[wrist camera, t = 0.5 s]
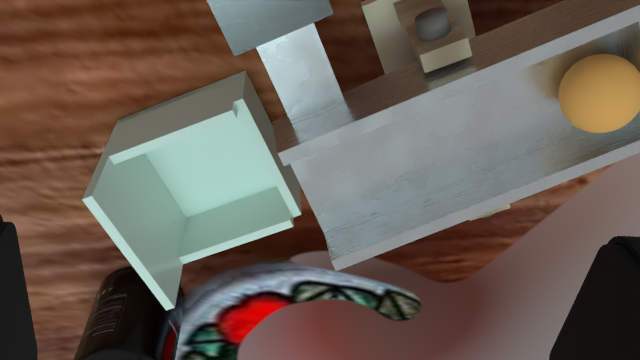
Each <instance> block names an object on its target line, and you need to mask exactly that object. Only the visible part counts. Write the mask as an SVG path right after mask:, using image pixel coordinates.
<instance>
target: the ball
mask: <svg viewBox="0 0 640 360" xmlns="http://www.w3.org/2000/svg"><path fill="white" fill-rule="evenodd" d="M558 98H559V105H560V108H561V110H562V112H563V114H564V116H565V117H566V118H567V119H568V121H569V122H570V123H572V124H573V125H574V126H576V127H577V128H579V129H582V130H584V131H588V132H592V133H606V132H611V131H614V130H617V129H619V128H621V127H623V126H625V125H626V124H628V123H629V122H630V121H631V120H632V119H633V118H634V117H635V116H636V115H637V113H638V112H639V110H640V73H639V71H638V70H637V69H636V67H635V66H634V65H633V64H632V63H630V62H629V61H627V60H626V59H624V58H622V57H619V56H616V55H611V54H597V55H592V56H589V57H586V58H584V59H582V60H580V61H578V62H577V63H575V64H574V65H573V66H572V67H571V68H570V69H569V70H568V71H567V72H566V74H565V75H564V77H563V79H562V81H561V84H560V87H559V92H558Z"/></svg>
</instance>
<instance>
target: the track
mask: <svg viewBox="0 0 640 360" xmlns="http://www.w3.org/2000/svg"><path fill="white" fill-rule="evenodd" d="M207 2H208V4H209V6H210V8H211V10H212V12H213V14H214V16H215V18H216V20H217V22H218V24H219V26H220V28H221V30H222V32H223V34H224V36H225V38H226V40H227V42H228V44H229V46H230V48H231V51H232V53H233V55H234V57H235V56H237V55H239V54H242V53H244V52H246V51H249V50H251V49H253V48H257V50H258V53H259V55H260V57H261V59H262V61H263V63H264V65H265V68H266V70H267V72H268V74H269V76H270V78H271V80H272V83H273V85H274V87H275V89H276V91H277V93H278V95H279V98H280V100H281V102H282V104H283V106H284V108H285V110H286V113H287V116H284V117H282V118H279V119H277V120H275V121H272V124H273V130H274V135H275V141H276V147H277V153H278V155H279V157H280V159H281V161H282V163H283V165H284V166H286V165H288V164H290V165H291V167H292V169H293V171H294V173H295V175H296V177H297V179H298V181H299V183H300V185H301V187H302V189H303V191H304V193H305V195H306V197H307V199H308V201H309V203H310V205H311V208H312V210H313V212H314V214H315V216H316V218H317V220H318V222H319V224H320V226H321V228H322V230H323V232H324V234H325V238H326V242H327V246H328V250H329V254H330V258H331V261H332V264H333V266H334V268H335V270H336V271H338V270H340V269H343V268H346V267H348V266H351V265H353V264H356V263H358V262H361V261H363V260H366V259H369V258H371V257H374V256H376V255H379V254H381V253H384V252H386V251H389V250H392V249H394V248H397V247H399V246H402V245H404V244H407V243H410V242H412V241H415V240H417V239H420V238H422V237H425V236H427V235H430V234H433V233H435V232H438V231H440V230H443V229H445V228H448V227H450V226H453V225H456V224H458V223H461V222H463V221H466V220H468V219H471V218H473V217H476V216H479V215H481V214H484V213H486V212H489V211H491V210H494V209H496V208H499V207H502V206H504V205H507V204H509V203H512V202H514V201H517V200H520V199H522V198H525V197H527V196H530V195H532V194H535V193H537V192H540V191H543V190H545V189H548V188H550V187H553V186H555V185H558V184H560V183H563V182H566V181H568V180H571V179H573V178H576V177H578V176H581V175H583V174H586V173H589V172H591V171H594V170H596V169H599V168H601V167H604V166H606V165H609V164H612V163H614V162H617V161H619V160H622V159H624V158H627V157H629V156H632V155H635V154H637V153H640V110H639V112H638V113H637V115H636V116H635V117H634V118H633V119H632V120H631V121H630V122H629V123H628V124H626V125H625V126H623V127H621V128H619V129H617V130H614V131H611V132H606V133H592V132H588V131H584V130H582V129H579V128H577V127H576V126H574V125H573V124H572V123H570V122H569V121H568V119H567V118H566V117H565V116H564V114H563V112H562V110H561V108H560V105H559V98H558V92H559V87H560V84H561V81H562V79H563V77H564V75H565V74H566V72H567V71H568V70H569V69H570V68H571V67H572V66H573V65H574V64H575V63H577V62H578V61H580V60H582V59H584V58H586V57H589V56H592V55H597V54H611V55H616V56H619V57H622V58H624V59H626V60H627V61H629V62H630V63H632V64H633V65H634V66H635V67H636V69H637V70H638V71H639V73H640V0H564V1H561V2H559V3H556V4H554V5H551V6H549V7H547V8H544V9H542V10H539V11H537V12H535V13H532V14H530V15H527V16H525V17H523V18H520V19H518V20H515V21H513V22H511V23H508V24H506V25H503V26H501V27H499V28H496V29H494V30H491V31H489V32H486V33H484V34H482V35H479V36H477V37H474V38H472V39H470V40H469V44H470V48H471V52H472V56H471V57H468V58H465V59H462V60H460V61H457V62H454V63H452V64H449V65H446V66H443V67H441V68H438V69H435V70H433V71H430V72H427V73H425V72H424V70H423V68H422V66H421V64H420V62H419V61H417V62H414V63H412V64H409V65H407V66H405V67H402V68H400V69H397V70H395V71H393V72H390V73H388V74H385V75H383V76H381V77H378V78H376V79H373V80H371V81H368V82H366V83H364V84H361V85H359V86H356V87H354V88H352V89H349V90H347V91H344V92H342V93H341V90H340V88H339V85H338V83H337V80H336V78H335V75H334V73H333V70H332V68H331V65H330V63H329V60H328V58H327V55H326V53H325V50H324V47H323V45H322V42H321V40H320V37H319V35H318V32H317V30H316V27H315V25H314V22H317V21H319V20H321V19H324V18H326V17H328V16H331V15H333V14H334V13H333V10H332V8H331V5H330V2H329V0H207Z"/></svg>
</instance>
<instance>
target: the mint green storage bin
mask: <svg viewBox="0 0 640 360" xmlns="http://www.w3.org/2000/svg"><path fill="white" fill-rule="evenodd" d="M82 200H83V202H84V203H85V204H86V206H87V207H88V208H89V210H90V211H91V212H92V214H93V215H94V216H95V217H96V219H97V220H98V221H99V223H100V224H101V225H102V227H103V228H104V229H105V231H106V232H107V233H108V235H109V236H110V237H111V239H112V240H113V241H114V243H115V244H116V245H117V246H118V248H119V249H120V250H121V252H122V253H123V254H124V256H125V257H126V258H127V260H128V261H129V262H130V264H131V265H132V266H133V268H134V269H135V270H136V272H137V273H138V274H139V275H140V277H141V278H142V279H143V281H144V282H145V283H146V285H147V286H148V287H149V289H150V290H151V291H152V293H153V294H154V295H155V297H156V298H157V299H158V301H159V302H160V303H161V305H162V306H163V307H164V308H165V310H169V309H173V308H175V304H176V299H177V293H178V288H179V283H180V277H181V272H182V267H183V264H185V263H188V262H191V261H194V260H197V259H200V258H203V257H205V256H208V255H211V254H214V253H217V252H220V251H223V250H226V249H229V248H232V247H235V246H238V245H241V244H244V243H247V242H250V241H253V240H256V239H258V238H261V237H264V236H267V235H270V234H273V233H276V232H279V231H282V230H285V229H288V228H291V227H293V217H295V216H298V215H301V199H300V183H299V181H298V179H297V177H296V175H295V173H294V171H293V169H292V167H291V165H290V164H288V165H286V166H284V165H283V163H282V161H281V159H280V157H279V155H278V153H277V147H276V141H275V135H274V130H273V126H272V124H271V122H270V119H269V117H268V115H267V113H266V111H265V109H264V107H263V105H262V103H261V101H260V99H259V97H258V95H257V93H256V91H255V89H254V87H253V85H252V83H251V81H250V79H249V76H248V74H247V72H246V70H245V71H243V72H240V73H238V74H235V75H232V76H230V77H227V78H225V79H222V80H220V81H217V82H214V83H212V84H209V85H207V86H204V87H201V88H199V89H196V90H194V91H191V92H188V93H186V94H183V95H181V96H178V97H176V98H173V99H170V100H168V101H165V102H163V103H160V104H157V105H155V106H152V107H150V108H147V109H144V110H142V111H139V112H137V113H134V114H132V115H129V116H126V117H124V118H121V119H119V120H118V121H117V123H116V125H115V127H114V129H113V132H112V134H111V136H110V138H109V141H108V143H107V145H106V147H105V149H104V152H103V154H102V156H101V158H100V160H99V163H98V165H97V167H96V169H95V172H94V174H93V176H92V178H91V180H90V183H89V185H88V187H87V189H86V192H85V194H84V196H83V198H82Z"/></svg>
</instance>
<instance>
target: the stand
mask: <svg viewBox="0 0 640 360" xmlns="http://www.w3.org/2000/svg"><path fill="white" fill-rule="evenodd" d="M360 4H361V6H362V9H363V12H364V15H365V18H366V21H367V24H368V27H369V30H370V32H371V35H372V38H373V41H374V44H375V47H376V50H377V53H378V56H379V59H380V61H381V64H382V67H383V70H384V73H385V74H388V73H390V72H393V71H395V70H397V69H400V68H402V67H405V66H407V65H409V64H412V63H414V62H417V61H419V62H420V64H421V66H422V68H423V70H424V72H425V73H427V72H430V71H433V70H435V69H438V68H441V67H443V66H446V65H449V64H452V63H454V62H457V61H460V60H462V59H465V58H468V57H471V56H472V52H471V48H470V44H469V40H470V39H472V38H474V37H476V34H475V30H474V26H473V21H472V17H471V13H470V9H469V5H468V1H467V0H365V1H362V2H360ZM508 208H510V204H507V205H504V206H502V207H499V208H496V209H494V210H491V211H489V212H486V213H484V214H481V215H479V216H476V217H473V218H471V219H469V220H470V221H471V220H474V219H477V218H480V217H481V218H484V217H489V216H491V215H493V214H494V213H496V212H499V211H502V210H505V209H508Z"/></svg>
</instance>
